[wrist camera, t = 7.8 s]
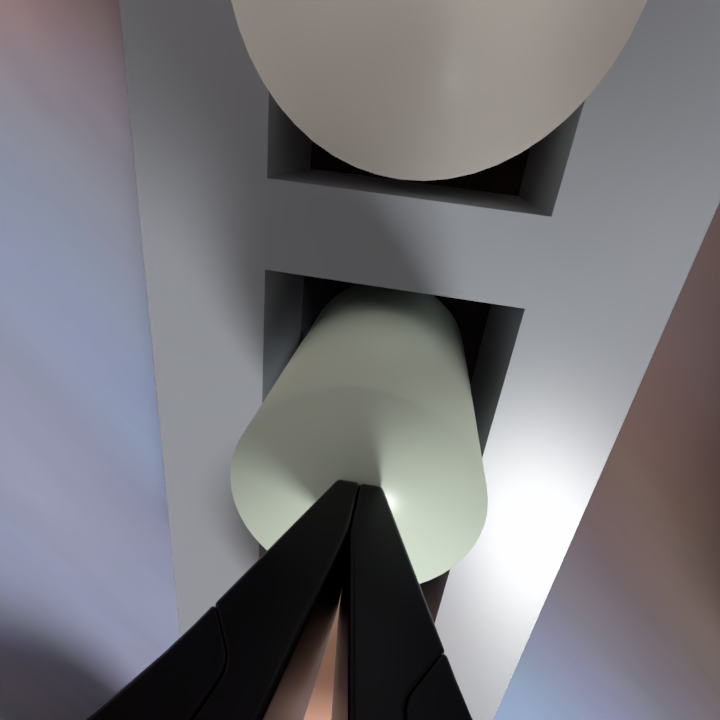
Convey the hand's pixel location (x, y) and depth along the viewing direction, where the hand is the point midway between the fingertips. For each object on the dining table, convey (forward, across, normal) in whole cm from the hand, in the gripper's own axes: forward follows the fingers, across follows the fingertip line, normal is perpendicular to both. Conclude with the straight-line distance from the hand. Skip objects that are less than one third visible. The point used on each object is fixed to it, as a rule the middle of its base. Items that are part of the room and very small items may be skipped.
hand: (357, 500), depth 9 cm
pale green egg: (+6, 0, 0) cm, 7 cm away
